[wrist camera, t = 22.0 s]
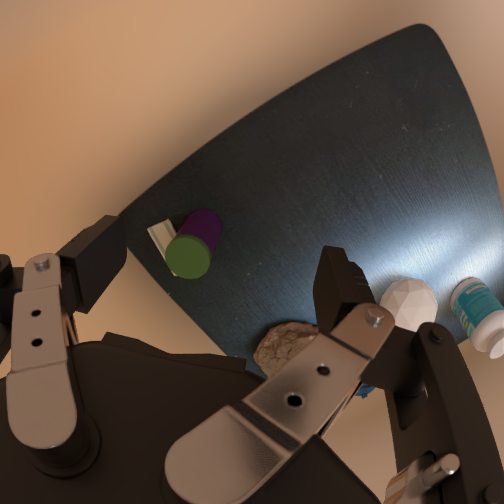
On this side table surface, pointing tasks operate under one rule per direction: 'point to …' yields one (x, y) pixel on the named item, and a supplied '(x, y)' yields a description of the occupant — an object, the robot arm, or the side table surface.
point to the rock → (282, 345)
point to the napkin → (162, 235)
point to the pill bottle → (480, 316)
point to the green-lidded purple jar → (194, 244)
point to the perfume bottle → (410, 303)
